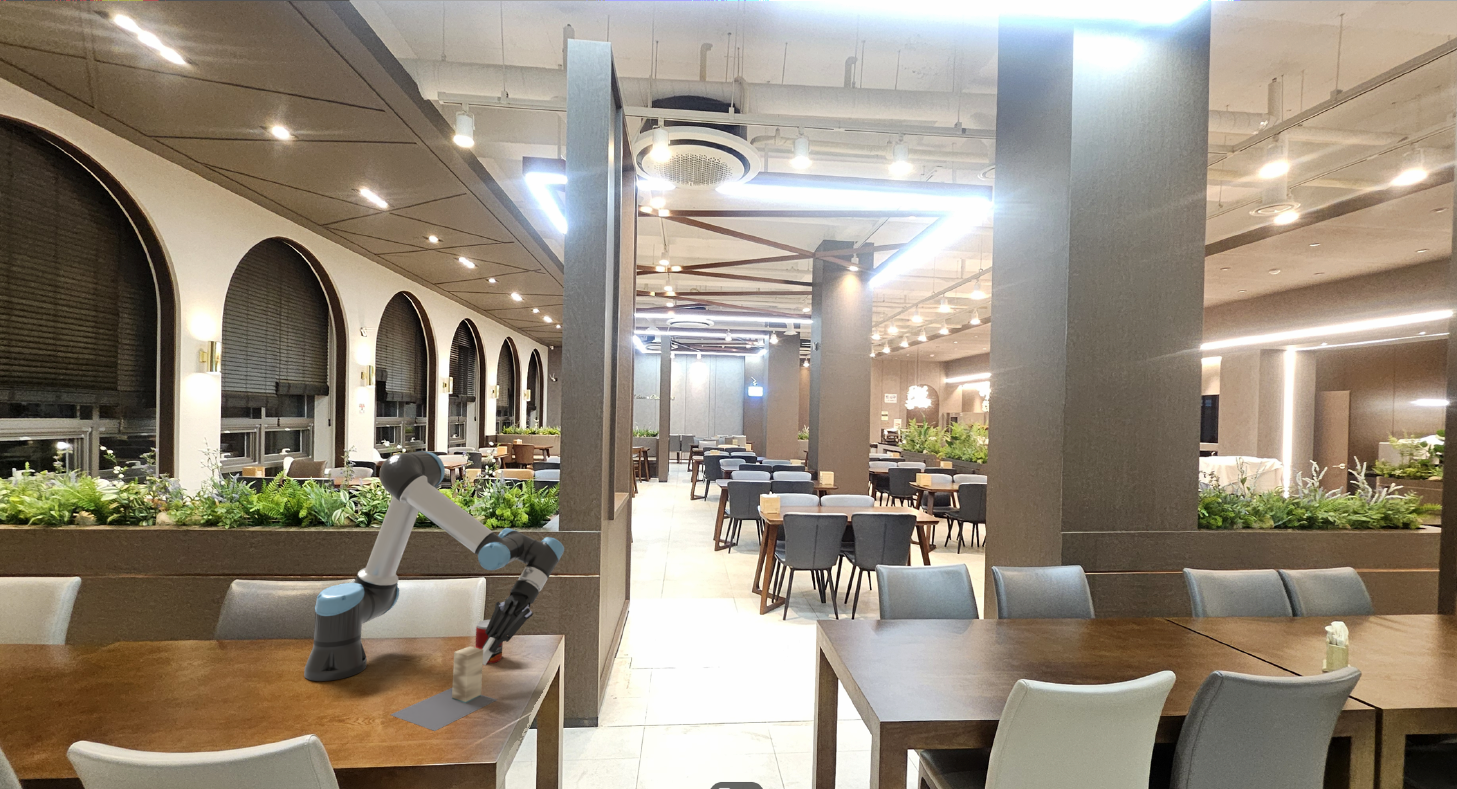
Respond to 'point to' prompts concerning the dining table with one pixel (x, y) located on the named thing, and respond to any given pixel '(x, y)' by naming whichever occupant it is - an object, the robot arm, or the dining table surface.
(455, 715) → the mat
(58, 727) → the dining table surface
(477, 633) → the canned food
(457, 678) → the beech block
